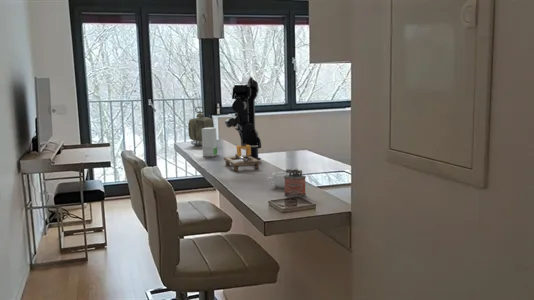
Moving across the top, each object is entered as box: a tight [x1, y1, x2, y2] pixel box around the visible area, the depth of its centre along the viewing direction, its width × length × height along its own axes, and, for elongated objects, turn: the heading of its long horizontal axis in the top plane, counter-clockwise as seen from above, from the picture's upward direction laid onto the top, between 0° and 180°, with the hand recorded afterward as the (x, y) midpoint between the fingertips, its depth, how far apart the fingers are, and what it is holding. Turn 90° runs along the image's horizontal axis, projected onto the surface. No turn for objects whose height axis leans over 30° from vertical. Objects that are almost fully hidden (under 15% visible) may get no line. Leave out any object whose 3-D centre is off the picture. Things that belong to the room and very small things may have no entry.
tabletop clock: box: [187, 106, 215, 146], centre depth 323 cm, size 14×9×25 cm, turn 66°
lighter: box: [284, 168, 307, 198], centre depth 186 cm, size 8×3×10 cm, turn 71°
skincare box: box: [201, 126, 218, 158], centre depth 283 cm, size 8×7×16 cm
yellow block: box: [236, 138, 251, 156], centre depth 241 cm, size 4×6×8 cm, turn 109°
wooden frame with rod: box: [223, 154, 261, 172], centre depth 247 cm, size 20×13×4 cm, turn 18°
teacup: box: [267, 171, 293, 189], centre depth 201 cm, size 10×8×5 cm
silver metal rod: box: [234, 153, 248, 162], centre depth 246 cm, size 16×2×1 cm, turn 18°
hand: (243, 143), depth 241 cm, fingers closed on yellow block, 2 cm apart
